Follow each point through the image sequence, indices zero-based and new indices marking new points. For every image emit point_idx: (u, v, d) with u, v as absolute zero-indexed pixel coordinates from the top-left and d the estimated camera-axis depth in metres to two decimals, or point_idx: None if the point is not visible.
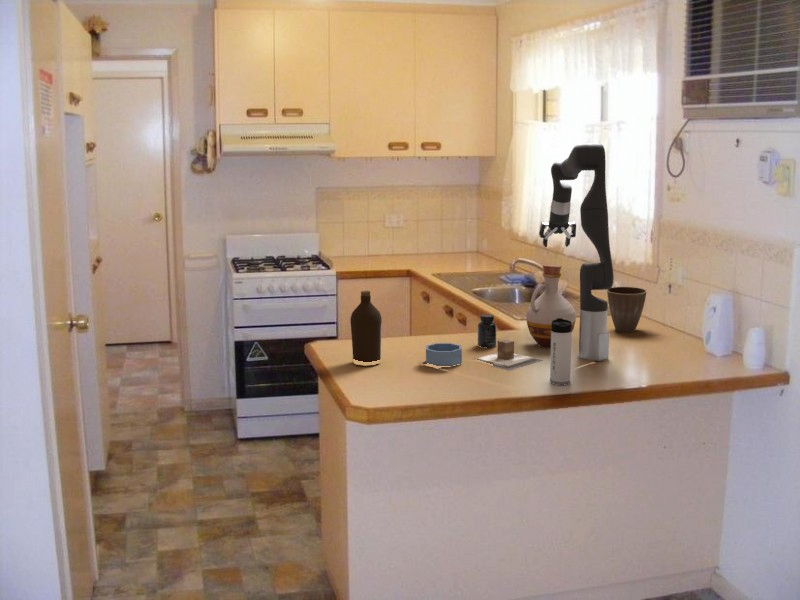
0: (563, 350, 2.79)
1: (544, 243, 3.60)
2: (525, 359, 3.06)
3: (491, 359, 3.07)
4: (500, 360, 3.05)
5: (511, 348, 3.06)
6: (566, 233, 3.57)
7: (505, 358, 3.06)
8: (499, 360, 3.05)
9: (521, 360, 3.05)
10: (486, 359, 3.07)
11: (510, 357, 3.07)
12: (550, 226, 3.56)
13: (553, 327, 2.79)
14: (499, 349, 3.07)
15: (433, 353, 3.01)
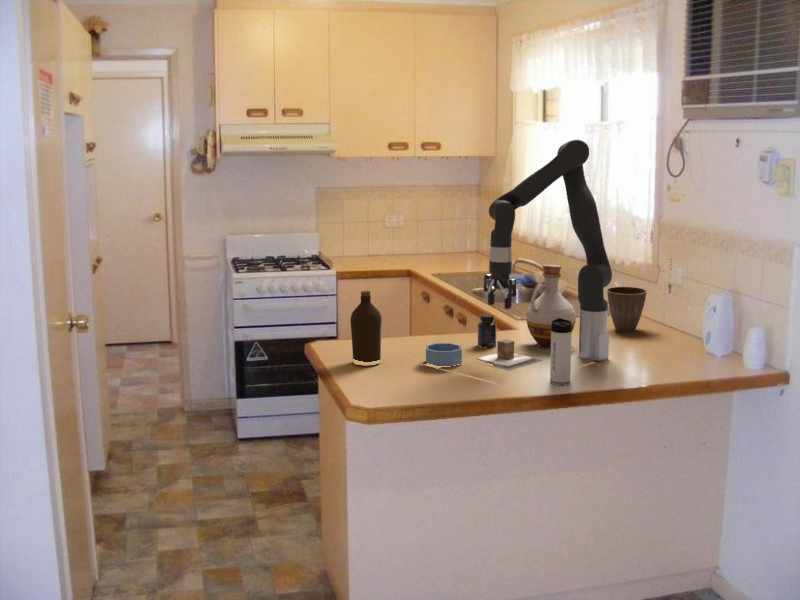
0: (563, 350, 2.79)
1: (510, 304, 3.04)
2: (525, 359, 3.06)
3: (491, 359, 3.07)
4: (500, 360, 3.05)
5: (511, 348, 3.06)
6: None
7: (505, 358, 3.06)
8: (499, 360, 3.05)
9: (521, 360, 3.05)
10: (486, 359, 3.07)
11: (510, 357, 3.07)
12: None
13: (553, 327, 2.79)
14: (499, 349, 3.07)
15: (433, 353, 3.01)
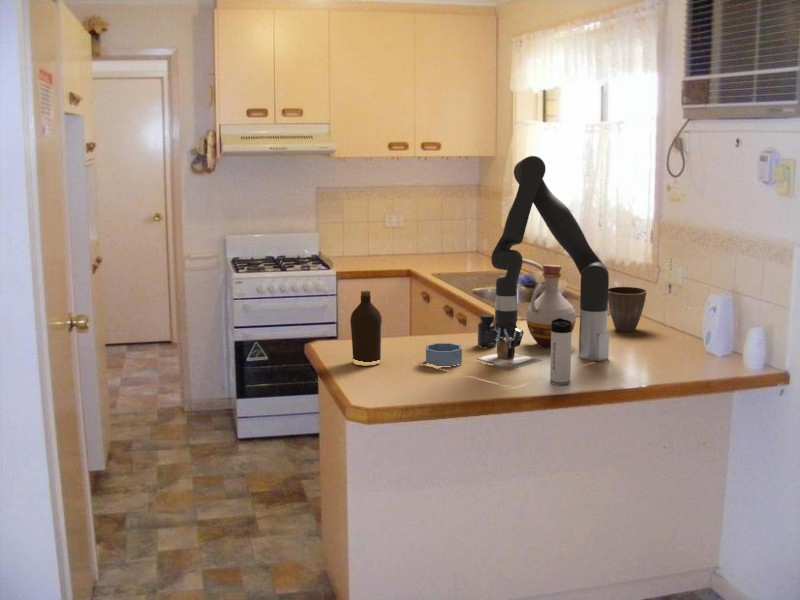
0: (563, 350, 2.79)
1: None
2: (525, 359, 3.06)
3: (491, 359, 3.07)
4: (500, 360, 3.05)
5: None
6: None
7: (505, 358, 3.06)
8: (499, 360, 3.05)
9: (521, 360, 3.05)
10: (486, 359, 3.07)
11: None
12: None
13: (553, 327, 2.79)
14: (499, 349, 3.07)
15: (433, 353, 3.01)
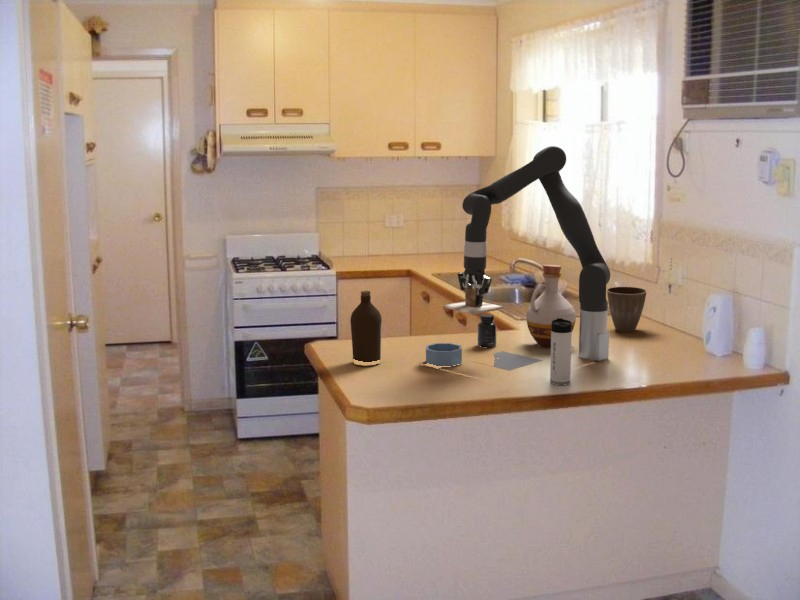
0: (563, 350, 2.79)
1: None
2: (493, 307, 3.02)
3: (458, 306, 3.03)
4: (467, 307, 3.02)
5: None
6: None
7: (473, 305, 3.02)
8: (466, 307, 3.02)
9: (489, 308, 3.01)
10: (454, 306, 3.03)
11: None
12: None
13: (553, 327, 2.79)
14: (467, 297, 3.03)
15: (433, 353, 3.01)
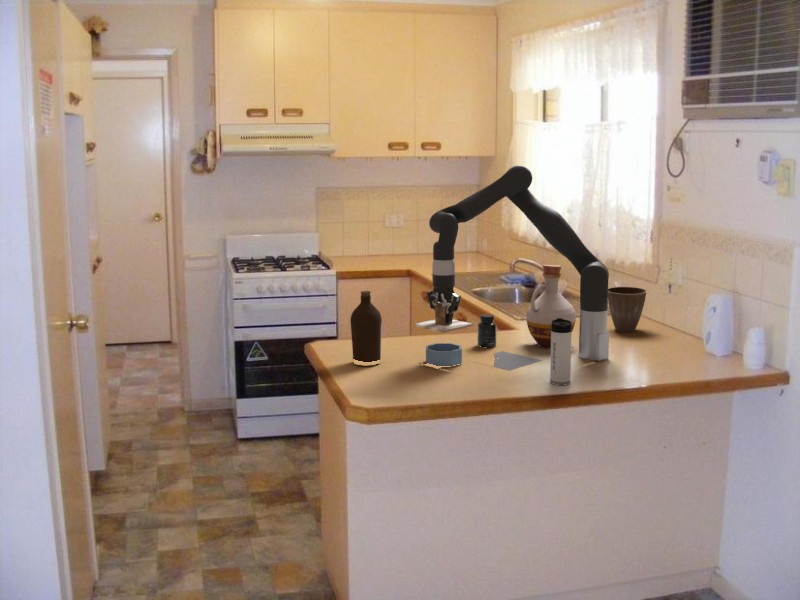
0: (563, 350, 2.79)
1: (451, 319, 3.02)
2: (463, 325, 3.02)
3: (428, 324, 3.02)
4: (437, 325, 3.01)
5: None
6: None
7: (442, 323, 3.01)
8: (436, 325, 3.01)
9: (459, 325, 3.00)
10: (423, 325, 3.02)
11: None
12: None
13: (553, 327, 2.79)
14: (437, 315, 3.02)
15: (433, 353, 3.01)
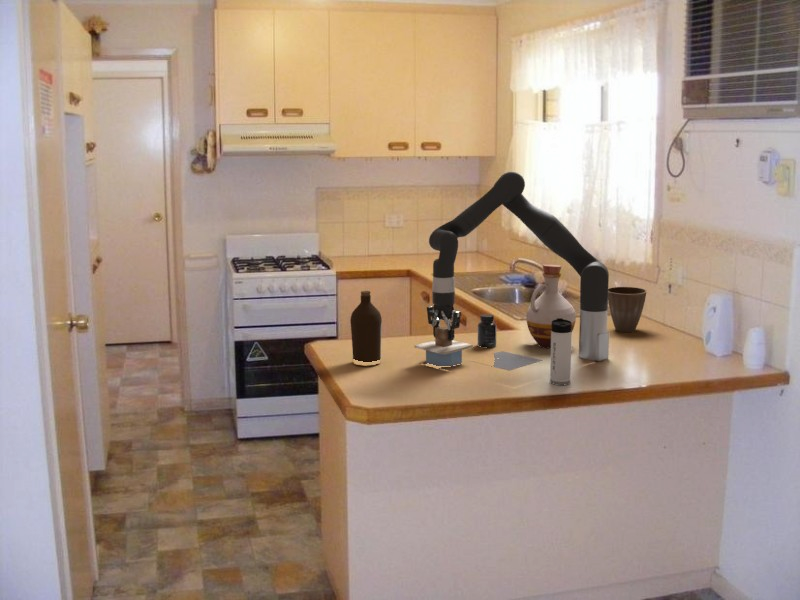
0: (563, 350, 2.79)
1: (453, 335, 3.02)
2: (463, 346, 3.03)
3: (428, 346, 3.04)
4: (437, 347, 3.02)
5: None
6: None
7: (442, 345, 3.03)
8: (436, 347, 3.02)
9: (458, 347, 3.02)
10: (423, 346, 3.04)
11: (448, 344, 3.04)
12: None
13: (553, 327, 2.79)
14: (437, 336, 3.04)
15: (433, 353, 3.01)
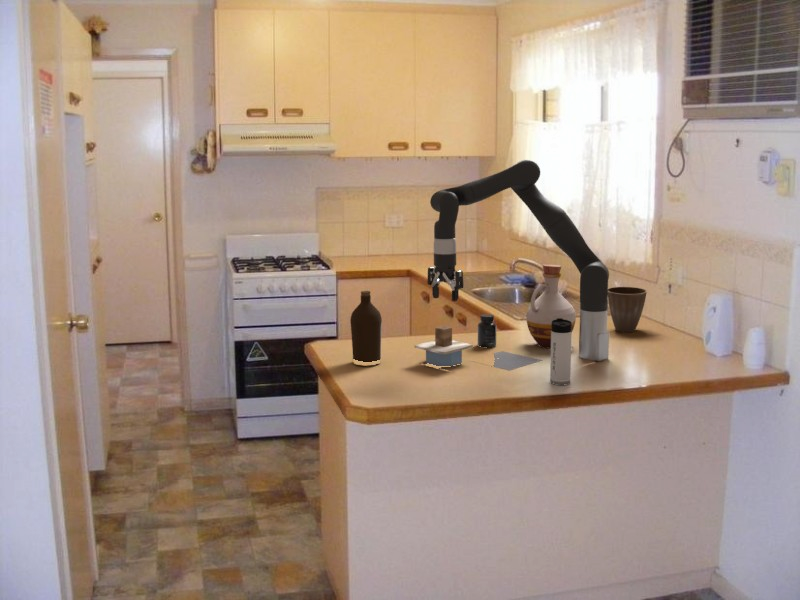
0: (563, 350, 2.79)
1: None
2: (463, 346, 3.03)
3: (428, 346, 3.04)
4: (437, 347, 3.02)
5: (448, 335, 3.03)
6: None
7: (442, 345, 3.03)
8: (436, 347, 3.02)
9: (458, 347, 3.02)
10: (423, 346, 3.04)
11: (448, 344, 3.04)
12: None
13: (553, 327, 2.79)
14: (437, 336, 3.04)
15: (433, 353, 3.01)
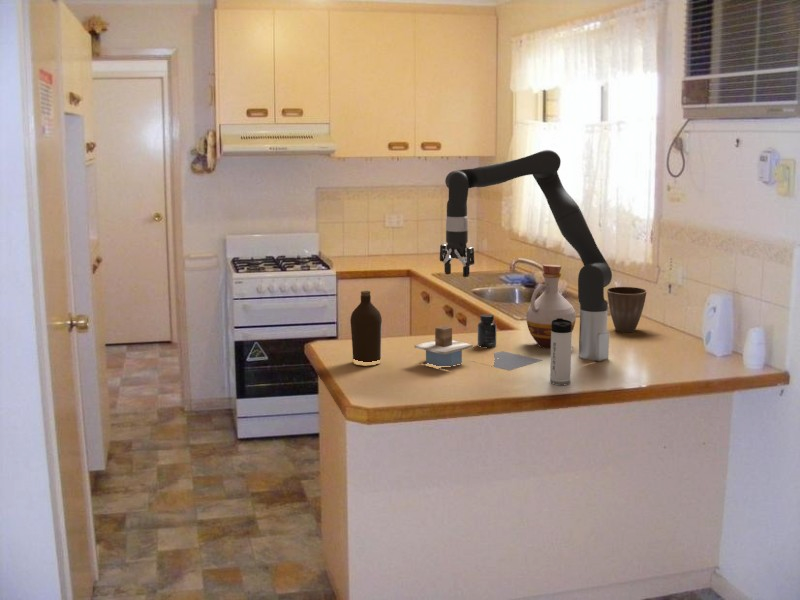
0: (563, 350, 2.79)
1: None
2: (463, 346, 3.03)
3: (428, 346, 3.04)
4: (437, 347, 3.02)
5: (448, 335, 3.03)
6: None
7: (442, 345, 3.03)
8: (436, 347, 3.02)
9: (458, 347, 3.02)
10: (423, 346, 3.04)
11: (448, 344, 3.04)
12: None
13: (553, 327, 2.79)
14: (437, 336, 3.04)
15: (433, 353, 3.01)
